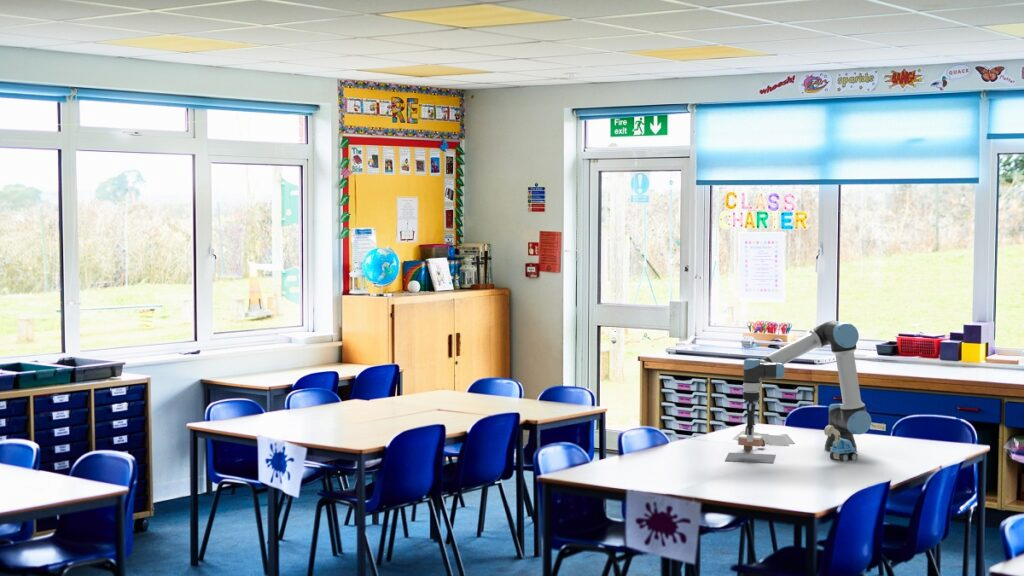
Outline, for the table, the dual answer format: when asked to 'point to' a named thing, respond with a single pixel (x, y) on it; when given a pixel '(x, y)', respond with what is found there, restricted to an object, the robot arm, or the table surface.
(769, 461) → the rubber mat
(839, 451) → the toy excavator
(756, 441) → the card deck
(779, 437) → the paper sheets
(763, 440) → the wooden block set
